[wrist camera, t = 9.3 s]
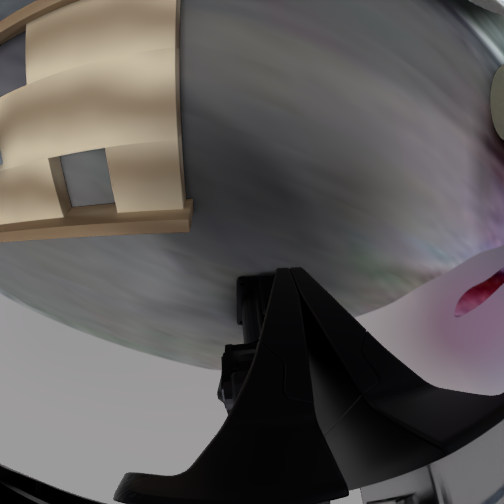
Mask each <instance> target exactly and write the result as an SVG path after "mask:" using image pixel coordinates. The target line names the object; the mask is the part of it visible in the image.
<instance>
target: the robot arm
mask: <svg viewBox="0 0 504 504" xmlns="http://www.w3.org/2000/svg"><path fill="white" fill-rule="evenodd" d="M241 282H244V283H241ZM237 323H238V324H239V325H243V335H244V344H238V345H232V344H228V345H225V353H223V357H222V375H221V379H220V384H219V388H218V392H217V393H218V394H217V395H218V399H219V400H221V401H222V402H223V403H224V405H225V408H226V409H227V412H228V417H227V419H226V420H225V422H224V424H223V426H222V427H221V429H220V430H219V432H218V433H217V435H216V436H215V437H214V438H213V439H212V441H211V442H210V444H209V445H208V446H207V447H206V448H205V450H204V451H203V452H202V453H201V455H200V456H199V457H198V458H197V460H196V461H195V462H194V463H193V465H192V466H191V467H190V468H189V469H188V470H187V471H185V472H183V473H181V474H178V475H174V476H162V475H154V474H145V473H131V472H130V473H126V474H125V475H124V477H123V479H122V481H121V483H120V485H119V486H118V488H117V490H116V492H115V494H114V498H113V499H114V500H115V501H118V502H121V503H125V504H330V501H331V500H335V499H339V498H343V497H346V496H348V495H349V490H353V489H357V488H360V490H361V495H362V500H363V504H504V393H502V394H500V395H494V396H488V395H479V394H472V393H466V392H460V391H454V390H448V389H443V388H438V387H435V386H433V385H431V384H429V383H427V382H426V381H424V380H423V379H422V378H421V377H419V376H418V375H417V374H416V373H414V372H413V371H412V370H411V369H410V368H408V367H407V366H406V365H405V364H403V363H402V362H401V361H400V360H398V359H397V358H396V357H395V356H394V355H393V354H391V353H390V352H389V351H388V350H387V349H386V348H384V347H383V346H382V345H381V344H380V343H379V342H378V341H377V340H376V339H375V338H374V337H373V336H372V335H371V334H370V333H369V332H368V331H367V332H366V329H365V328H364V327H363V326H362V325H361V324H360V323H359V322H358V321H357V320H356V319H355V318H354V317H353V316H352V315H351V314H350V313H349V312H347V311H346V310H345V309H344V308H343V307H342V306H341V305H340V304H339V303H338V302H337V301H336V300H335V299H334V298H333V297H332V296H331V295H330V294H329V293H328V292H327V291H326V290H325V289H324V288H323V287H322V286H321V285H320V284H319V283H318V282H317V281H315V280H314V279H313V278H312V277H311V276H310V275H309V274H308V273H307V272H306V271H305V270H304V269H303V268H301V267H295V268H290V269H289V268H278V269H277V270H276V274H275V276H261V277H240V278H238V279H237ZM0 504H106V503H102V502H99V501H95V500H92V499H88V498H85V497H82V496H79V495H76V494H72V493H70V492H67V491H64V490H62V489H59V488H56V487H54V486H51V485H49V484H46V483H44V482H41V481H39V480H36V479H34V478H31V477H29V476H27V475H24V474H22V473H20V472H17V471H15V470H13V469H10V468H8V467H6V466H4V465H1V464H0Z"/></svg>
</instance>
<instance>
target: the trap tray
mask: <svg viewBox="0 0 504 504" xmlns="http://www.w3.org/2000/svg"><path fill="white" fill-rule="evenodd" d="M180 4H181V0H37V1H35V2H33V3H31V4H29V5H27V6H25V7H23V8H22V9H20V10H18V11H16V12H15V13H13V14H11V15H10V16H8V17H6V18H5V19H3V20H2V21H0V45H1V44H3V43H4V42H6V41H8V40H9V39H11V38H13V37H15V36H16V35H18V34H20V33H22V32H24V31H26V78H27V85H25V86H23V87H21V88H19V89H16V90H14V91H12V92H10V93H8V94H6V95H4V96H2V97H0V151H1V156H2V160H3V163H2V164H1V165H0V242H10V241H24V240H38V239H53V238H70V237H88V236H107V235H128V234H153V233H180V232H190V228H191V222H192V217H193V211H194V208H193V199H186V192H185V180H184V167H183V153H182V135H181V114H180V78H179V37H180ZM100 148H105V150H106V156H107V162H108V168H109V174H110V179H111V184H112V189H113V194H114V199H115V203H112V204H101V205H90V206H80V207H72V206H71V203H70V199H69V195H68V192H67V188H66V184H65V180H64V175H63V171H62V167H61V162H60V157H59V156H61V155H66V154H71V153H77V152H82V151H88V150H94V149H100Z"/></svg>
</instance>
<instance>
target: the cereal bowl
mask: <svg viewBox="0 0 504 504" xmlns="http://www.w3.org/2000/svg"><path fill="white" fill-rule="evenodd" d="M468 1H470V2H472V3H474V4H475V5H477V6H480V7H482V8H484V9H486V10H489V11H491V12H494V13H497V14H499V15H504V0H468Z"/></svg>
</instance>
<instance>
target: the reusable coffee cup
mask: <svg viewBox="0 0 504 504" xmlns="http://www.w3.org/2000/svg"><path fill="white" fill-rule="evenodd" d="M490 107H491V115H492V120H493V124H494V127H495V129H496V131H497V133H498V135H499V136H500V137H501V138H502V139H503V140H504V65H502V66H501V67H499V68H498V70H497V71H496V73H495V75H494V78H493V81H492V86H491V93H490Z"/></svg>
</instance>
